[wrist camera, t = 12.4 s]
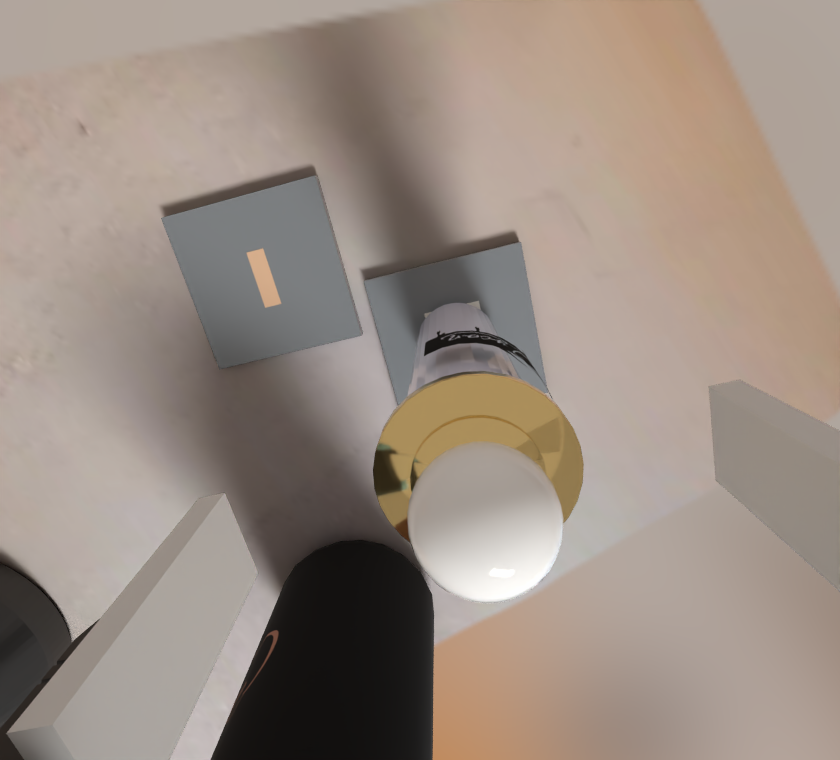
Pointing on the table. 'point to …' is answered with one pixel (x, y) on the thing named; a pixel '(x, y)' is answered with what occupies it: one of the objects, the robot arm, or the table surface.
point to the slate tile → (265, 273)
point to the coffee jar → (340, 664)
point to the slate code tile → (457, 283)
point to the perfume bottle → (477, 462)
